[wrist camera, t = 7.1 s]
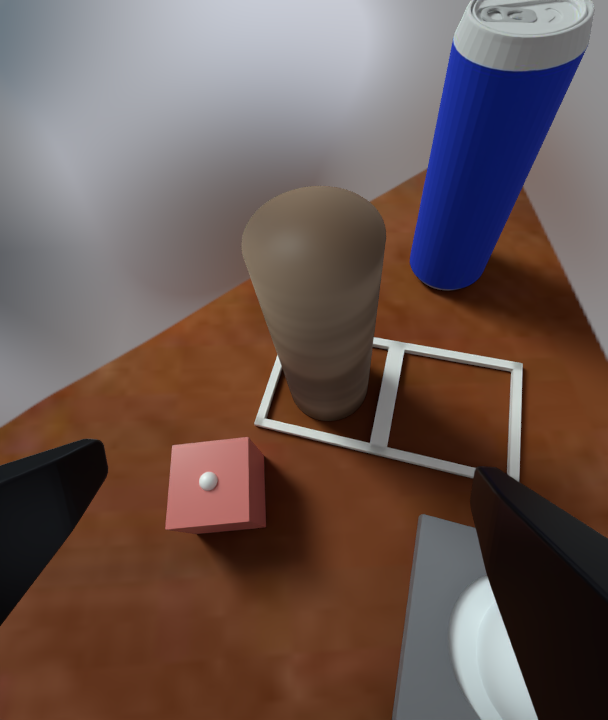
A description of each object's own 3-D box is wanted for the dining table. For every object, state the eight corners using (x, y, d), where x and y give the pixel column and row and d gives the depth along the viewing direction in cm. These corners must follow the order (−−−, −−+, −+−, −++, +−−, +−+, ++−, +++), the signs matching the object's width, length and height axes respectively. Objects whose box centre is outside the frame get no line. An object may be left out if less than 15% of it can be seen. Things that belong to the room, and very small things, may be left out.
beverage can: (480, 241, 29) (591, -28, 15) (483, 297, 26) (616, 37, 13) (410, 239, 30) (458, -19, 16) (407, 292, 27) (460, 43, 14)
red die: (266, 527, 21) (246, 520, 17) (196, 534, 21) (161, 528, 17) (263, 455, 23) (245, 434, 19) (199, 462, 23) (168, 443, 19)
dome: (604, 776, 14) (712, 869, 10) (438, 714, 16) (471, 772, 11) (595, 594, 17) (679, 607, 12) (453, 554, 18) (484, 553, 14)
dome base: (622, 819, 15) (643, 839, 14) (390, 728, 17) (393, 739, 16) (607, 566, 19) (622, 567, 18) (418, 516, 21) (422, 513, 20)
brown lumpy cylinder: (359, 429, 23) (371, 305, 12) (281, 411, 24) (221, 282, 13) (374, 357, 25) (396, 192, 14) (301, 344, 26) (265, 180, 15)
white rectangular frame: (516, 488, 21) (519, 487, 20) (255, 425, 24) (254, 423, 24) (520, 366, 24) (522, 363, 24) (289, 325, 27) (288, 322, 27)
